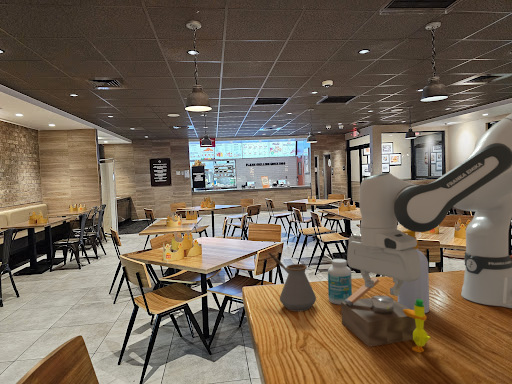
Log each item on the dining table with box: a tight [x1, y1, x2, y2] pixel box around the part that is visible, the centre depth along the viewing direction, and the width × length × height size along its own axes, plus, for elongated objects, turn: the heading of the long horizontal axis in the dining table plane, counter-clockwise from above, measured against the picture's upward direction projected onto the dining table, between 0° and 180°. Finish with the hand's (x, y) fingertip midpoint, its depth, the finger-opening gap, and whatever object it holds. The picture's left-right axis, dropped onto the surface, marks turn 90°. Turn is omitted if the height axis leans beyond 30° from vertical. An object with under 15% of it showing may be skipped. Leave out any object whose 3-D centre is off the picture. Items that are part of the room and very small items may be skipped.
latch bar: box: [344, 276, 380, 306], centre depth 93 cm, size 11×3×1 cm
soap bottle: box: [397, 229, 430, 314], centre depth 102 cm, size 9×9×24 cm
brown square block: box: [340, 297, 416, 347], centre depth 90 cm, size 14×14×6 cm
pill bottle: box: [327, 258, 353, 306], centre depth 111 cm, size 8×7×14 cm
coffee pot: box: [266, 252, 317, 312], centre depth 113 cm, size 21×12×15 cm, turn 32°
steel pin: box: [371, 295, 394, 315], centre depth 88 cm, size 5×5×8 cm
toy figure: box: [403, 299, 431, 354], centre depth 79 cm, size 7×4×12 cm, turn 32°
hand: (381, 290), depth 88 cm, fingers open, 7 cm apart
